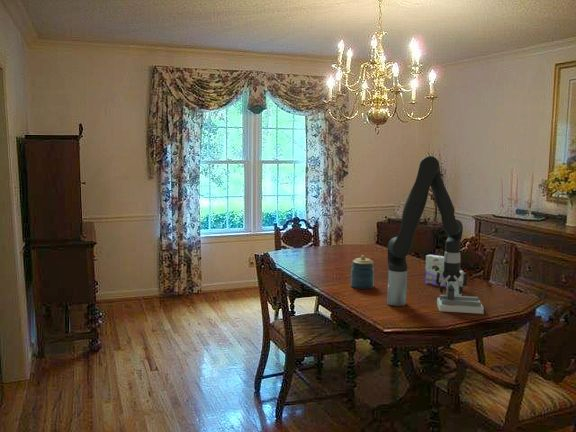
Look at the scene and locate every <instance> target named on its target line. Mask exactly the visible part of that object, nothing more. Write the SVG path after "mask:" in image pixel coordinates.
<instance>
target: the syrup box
mask: <svg viewBox="0 0 576 432" xmlns="http://www.w3.org/2000/svg"><path fill="white" fill-rule="evenodd" d="M460 273H464V270H461V269H460ZM458 279H459V280H460V282H461V283H463V277H462V276H460V277H459V278H458ZM448 284H452V286H453V287H454V296H463V295H462V294H463V292H462V293H461V294H459V286H460V285H459V284H458V282H457V281H455V282H452V281H451V282H448Z"/></svg>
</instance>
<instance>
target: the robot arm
mask: <svg viewBox="0 0 576 432" xmlns="http://www.w3.org/2000/svg"><path fill="white" fill-rule="evenodd" d="M442 178H443V177H442V174H441V170H440V161H439V160H438V159H437V158H436V157H435V156H434V155H433V156H432V155H428V156H425V157H423V158H422V159H421V160H420V162H419V165H418V170H417V175H416V178H415V180H414V184H413V186H412V188H411V189H410V191H409V194H408V196H407V199H406V201H405V204H404V206H403V209H402V215H401V225H400V229H399V232H398V235H397V236H395V237H392V238H391V239H390V240H389V241H388V244H387V264H388V267H387V268H388V275H387V293H386V295H387V296H386V304H387V305H389V306H394V307H403V306H406V304H407V290H408V289H407V288H408V287H407V286H408V285H407V284H408V263H407V259H406V258H407V256H408V255H409V253H410V251H411V248H412V245H413V240H414V236H415V232H416V230H417V229H418V225H419V223H420V220H421V218H422V216H423V213H424V210H425V207H426V205H427V201H428V196H429V193H430V188H431V192H432V194H433V195H432V196H433V198H434V201H435V204H436V207H437V210H438V212H439V214H440V219H441V223H442V227H443V230H444V232H445V233H446V235H447V238H446V240H445V243H444V245H445V246H444V255H443V256H444V271H443V273H441V272H437V275H436V284H437V285H440V286H439V292H440V294H441V295H444V294H443V293H444V287H443V284H444V283H445V282H446V281H448V282H451V281H452V282H455V281H457V282H458V284H459V285H460V286H459V294H461V293H462V294H463V291H464V290H463V289H464V288H463V287H466V286H468V282H467V280H468V276H467V272H464V271H463V273H460V270H461V260H462V259H461V242H462V236H463V231H464V227H463V223H462V221H461V220H459V219H458V218H457V219H456V216H455V212H456V211H455V207H454V205H453V202H452V199H451V197H450V194H449V193H448V190H447V188H446V186H445V184H444V181H443V179H442ZM441 275H443V276H444V278H443V279H442V281H441V282H439V277H441ZM460 276H462V277H463V283H461V282H460V280H459V279H458V278H459V277H460Z"/></svg>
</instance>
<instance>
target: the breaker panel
mask: <svg viewBox="0 0 576 432" xmlns="http://www.w3.org/2000/svg"><path fill="white" fill-rule="evenodd" d="M436 306H437V309H438V310H439V311H440V312H449V313H464V314H465V313H466V314H467V313H468V314H479V315H481V314H482V315H484V309H485V308H484V306H483V304H482V301H480V300H479V296H471V295H470V296H469V295H462V296H454V300H448V299H446V294H439V297H437V299H436Z"/></svg>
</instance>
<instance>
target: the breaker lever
mask: <svg viewBox="0 0 576 432" xmlns="http://www.w3.org/2000/svg"><path fill="white" fill-rule="evenodd" d="M445 292H446V293H445V295H446V299H448V300H454V287H453V286H452V284H448V285H447V287H446V291H445Z"/></svg>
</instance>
